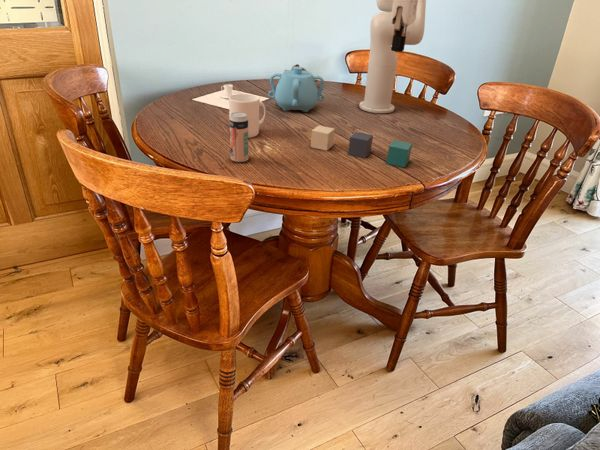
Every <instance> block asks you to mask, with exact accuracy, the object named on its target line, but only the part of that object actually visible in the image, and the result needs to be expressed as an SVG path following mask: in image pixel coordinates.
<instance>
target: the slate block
mask: <svg viewBox="0 0 600 450" xmlns="http://www.w3.org/2000/svg"><path fill="white" fill-rule="evenodd" d="M373 138H374V135H373V134H369V133H364V132H359V131H355V132H354V133H352V135H351V136H350V137H349V141H348V142H349V143H348V150H347V151H348V152H347V154H348V155H350V156H354V157H359V158H363V159H366V158H367V157H368V156H369V155H370V153H371V152H372V147H373Z"/></svg>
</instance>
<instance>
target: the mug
mask: <svg viewBox="0 0 600 450" xmlns="http://www.w3.org/2000/svg"><path fill="white" fill-rule="evenodd" d="M252 94H253V93H249V94H234V95H231V96H230V97H229V109H228V113H229V117H230V116H231V114H232V113H235V112H242V113H245V114H246V115H247V117H248V139H251V138H255V137H257V136H258V135H259V133H260V126H261V125H262V124H263V123H264V121H265V119H266V113H267V112H266V110H267V109H266V106H265V104H264V102H263V101H259V97H258V96H259V95H257V94H253V95H252ZM256 95H257V96H256ZM260 107H261V108H262V109H263V116H262V117H261V119H260ZM229 117H228V118H229Z"/></svg>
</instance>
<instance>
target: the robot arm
mask: <svg viewBox="0 0 600 450" xmlns="http://www.w3.org/2000/svg"><path fill="white" fill-rule="evenodd" d="M426 5H427V0H376V6H377V8H378V10H380V11H381V12H378V13H376V14H374V15H373V16H372V17H371V20H370V26H369V27H370V28H369V29H370V30H369V33H370V35H369V36H370V37H369V39H370V44H369V56H368V65H367V66H368V67H367V73H366V81H365V91H364V98H363V101H360V102H359V104H358V107H359V109H360V110H362V111H364V112H368V113H373V114H390V113H393V112H394V111H395V105H394V104H392V98H393V92H394V86H395V78H396V71H397V66H398V65H397V64H398V55H397V53H398V52H399V53H403V52H404V51H405V46H416V45H419V44H420V43H421V42H422V40H423V39H424V34H425V24H426V7H427V6H426ZM396 52H397V53H396Z"/></svg>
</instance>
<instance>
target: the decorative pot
mask: <svg viewBox="0 0 600 450" xmlns="http://www.w3.org/2000/svg"><path fill="white" fill-rule="evenodd" d="M292 67H293V66H292ZM303 68H304V67H302V68H301V66H300V67H293V70H291V69H290V70H289V69H286V70H287V71H285V70H284V71H283V72H282V73H279V72H276V73H273V74H271V76H270V77H269V84H270V87H271V90H269V91H268V98H270V99H272V100H273V99H274V100H275V101H276V104H277V105H278V107H280V108H281V109H282V110H283V111H285V112H286V111H291V110H292V111H293V110H294V111H300V112H304V113H308V112H309V110H311V109H313V108H314V107H315V106H316V104H317V103H318V102H323V101H324V100H325V99H326V98H325V94H323V93H322V92H323V89H324V88H325V80H324V78H323V77H322V76H320V75H313V73H312V72H311V71H308V70H306V71H302V69H303ZM276 77H278V78H279V79H278V81H277V84H276V86H275V85H274V84H275V83H274V79H275V78H276ZM314 79H317V80H320V82H321V83H320V87H319V89H318V87H317V83H316V82H315V80H314ZM272 94H273V95H272Z"/></svg>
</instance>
